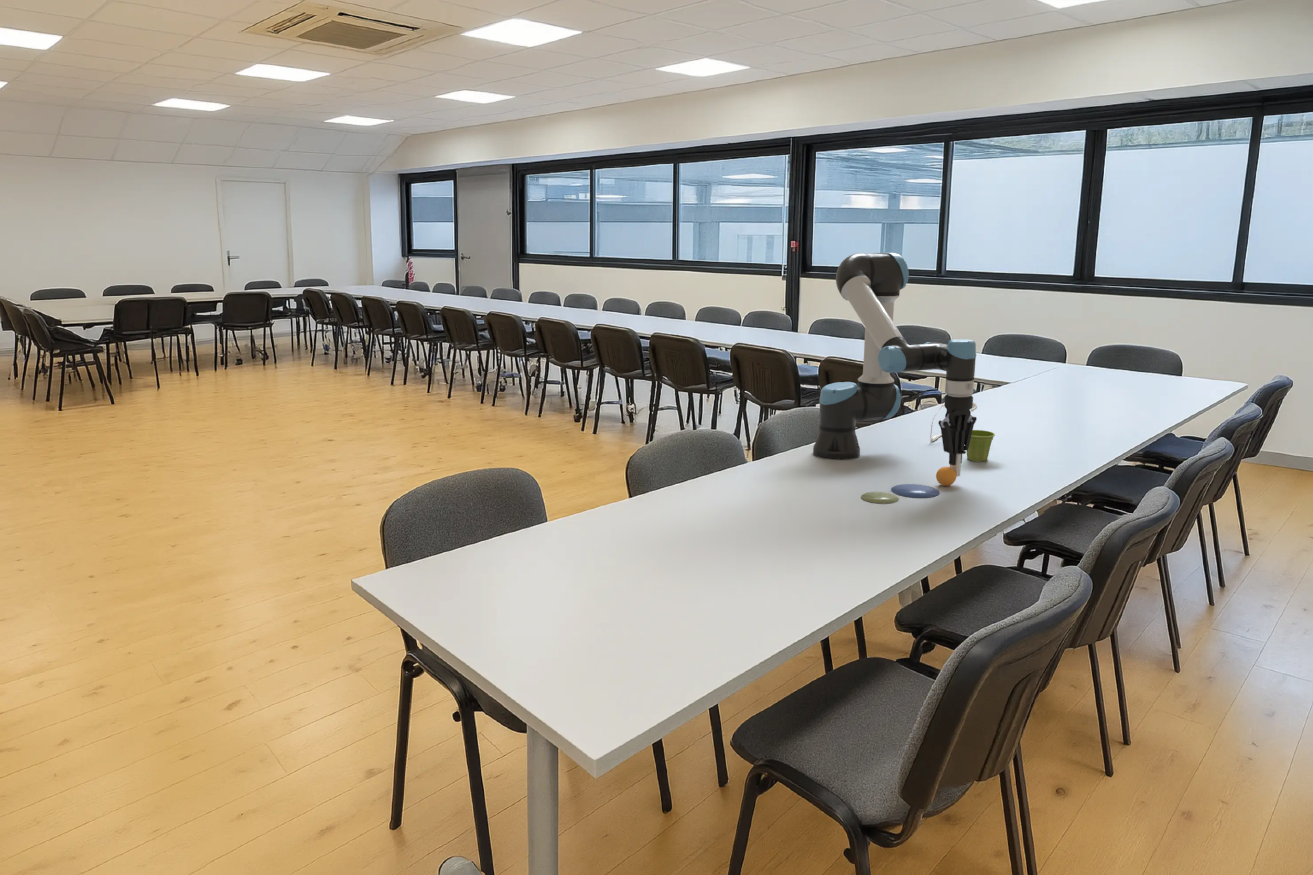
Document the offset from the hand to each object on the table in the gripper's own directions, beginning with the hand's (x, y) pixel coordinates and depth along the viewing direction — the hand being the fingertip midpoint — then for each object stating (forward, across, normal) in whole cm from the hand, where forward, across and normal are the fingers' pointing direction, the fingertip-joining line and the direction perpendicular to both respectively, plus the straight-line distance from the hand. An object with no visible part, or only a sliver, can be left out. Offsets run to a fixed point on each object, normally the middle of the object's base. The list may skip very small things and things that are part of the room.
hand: (954, 475), depth 246 cm
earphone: (+3, +42, +39) cm, 57 cm away
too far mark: (+2, -28, +1) cm, 28 cm away
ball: (0, -3, 0) cm, 3 cm away
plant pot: (+3, +27, +16) cm, 32 cm away
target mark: (+2, -15, 0) cm, 15 cm away
